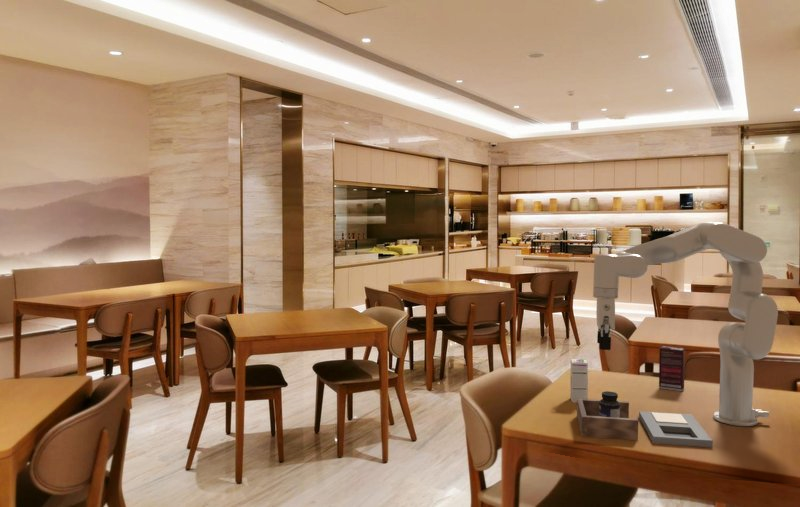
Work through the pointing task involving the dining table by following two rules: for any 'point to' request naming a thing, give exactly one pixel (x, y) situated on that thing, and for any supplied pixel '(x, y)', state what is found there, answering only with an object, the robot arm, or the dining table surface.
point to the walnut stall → (605, 421)
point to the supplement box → (671, 368)
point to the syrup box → (579, 379)
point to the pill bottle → (609, 405)
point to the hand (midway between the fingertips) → (603, 346)
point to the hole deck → (674, 429)
